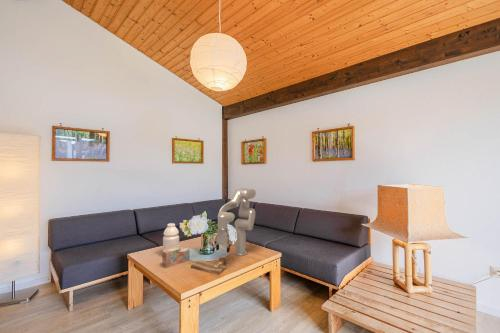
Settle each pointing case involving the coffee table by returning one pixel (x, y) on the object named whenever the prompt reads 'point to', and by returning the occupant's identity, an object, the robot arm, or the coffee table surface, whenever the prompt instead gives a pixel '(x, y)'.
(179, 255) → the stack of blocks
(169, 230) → the bottle
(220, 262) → the gauge
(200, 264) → the board
